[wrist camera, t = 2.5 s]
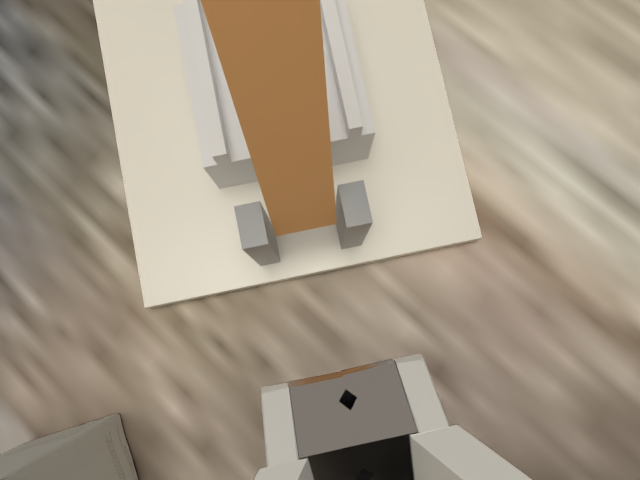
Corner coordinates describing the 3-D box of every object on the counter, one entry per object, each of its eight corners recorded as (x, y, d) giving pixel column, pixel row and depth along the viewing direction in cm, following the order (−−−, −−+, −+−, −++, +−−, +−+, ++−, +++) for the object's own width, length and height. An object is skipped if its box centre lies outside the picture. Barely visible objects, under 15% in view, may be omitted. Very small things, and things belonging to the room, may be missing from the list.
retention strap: (334, 212, 30) (336, 223, 29) (273, 225, 30) (275, 236, 29) (306, -126, 13) (312, -108, 13) (172, -100, 13) (174, -81, 13)
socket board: (396, -84, 40) (422, -233, 29) (475, 240, 37) (537, 207, 26) (95, -26, 40) (11, -155, 29) (151, 308, 37) (81, 302, 26)
